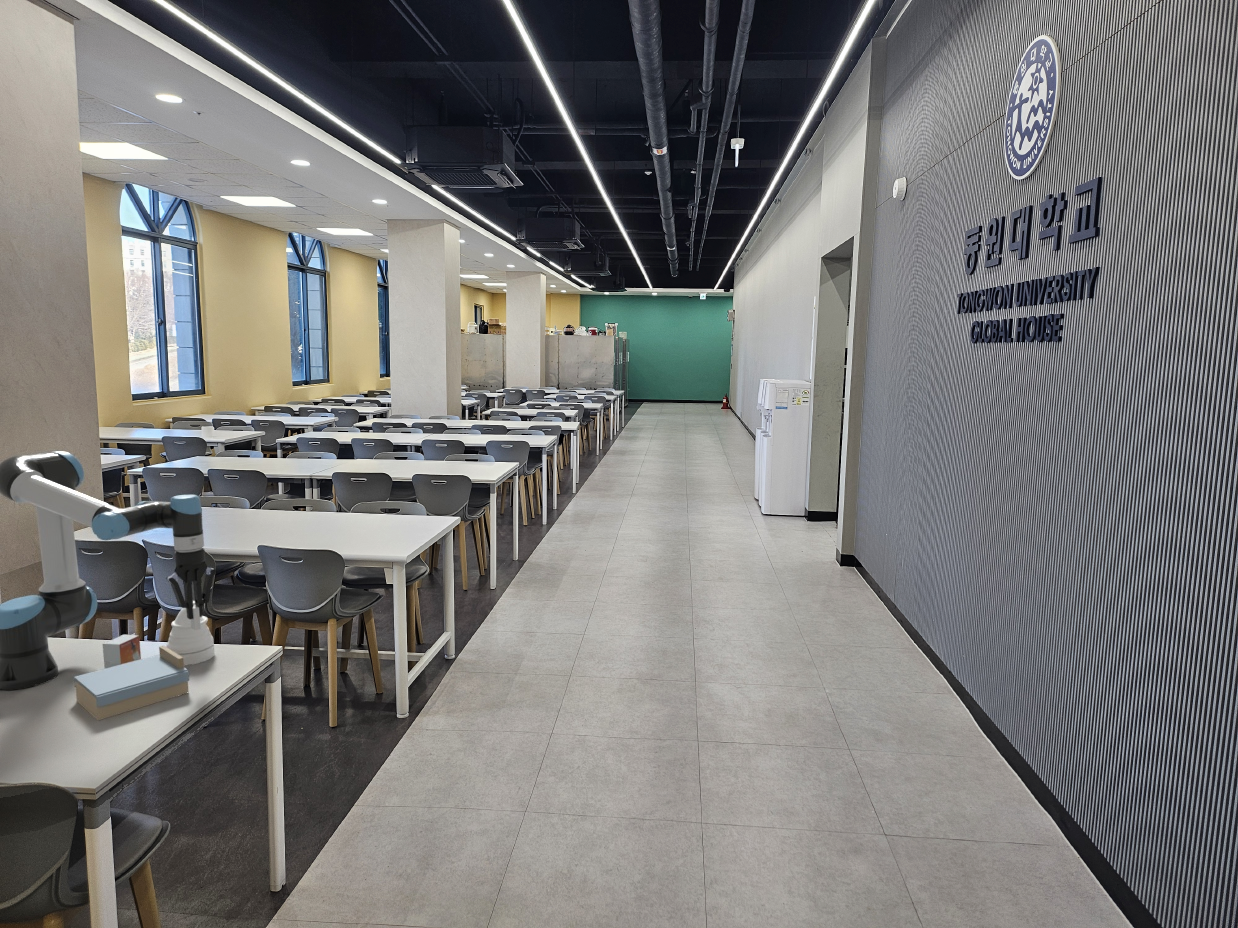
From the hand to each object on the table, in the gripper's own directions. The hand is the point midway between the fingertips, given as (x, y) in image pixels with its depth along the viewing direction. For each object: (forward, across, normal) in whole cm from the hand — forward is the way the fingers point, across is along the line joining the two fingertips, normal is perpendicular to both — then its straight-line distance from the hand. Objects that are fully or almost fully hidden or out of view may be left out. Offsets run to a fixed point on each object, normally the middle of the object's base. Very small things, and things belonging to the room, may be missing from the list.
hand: (196, 628), depth 225 cm
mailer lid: (+11, -17, 0) cm, 20 cm away
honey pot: (+15, +5, +18) cm, 24 cm away
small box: (+15, -13, +20) cm, 29 cm away
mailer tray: (+15, -17, 0) cm, 23 cm away
